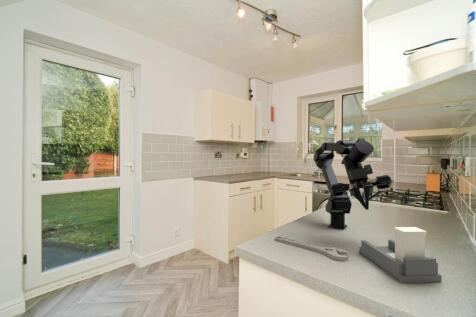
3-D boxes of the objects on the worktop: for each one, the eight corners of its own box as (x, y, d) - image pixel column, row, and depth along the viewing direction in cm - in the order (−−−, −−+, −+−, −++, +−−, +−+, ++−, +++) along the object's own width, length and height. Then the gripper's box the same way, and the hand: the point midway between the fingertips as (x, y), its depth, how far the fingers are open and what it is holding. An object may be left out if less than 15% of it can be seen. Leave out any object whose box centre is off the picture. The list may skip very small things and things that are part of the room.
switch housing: (359, 251, 74) (359, 234, 73) (389, 250, 74) (389, 233, 74) (402, 282, 56) (402, 260, 55) (441, 281, 56) (441, 259, 56)
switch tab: (391, 263, 62) (391, 226, 62) (412, 262, 62) (413, 226, 62) (405, 272, 57) (406, 232, 57) (428, 272, 57) (429, 232, 57)
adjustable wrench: (273, 241, 84) (273, 236, 84) (283, 237, 88) (283, 232, 88) (344, 264, 66) (344, 257, 66) (352, 256, 70) (352, 251, 70)
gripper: (325, 164, 82) (335, 206, 73) (384, 152, 75) (403, 196, 67) (328, 177, 90) (338, 216, 82) (381, 167, 84) (398, 208, 76)
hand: (367, 209), depth 76 cm, fingers closed
